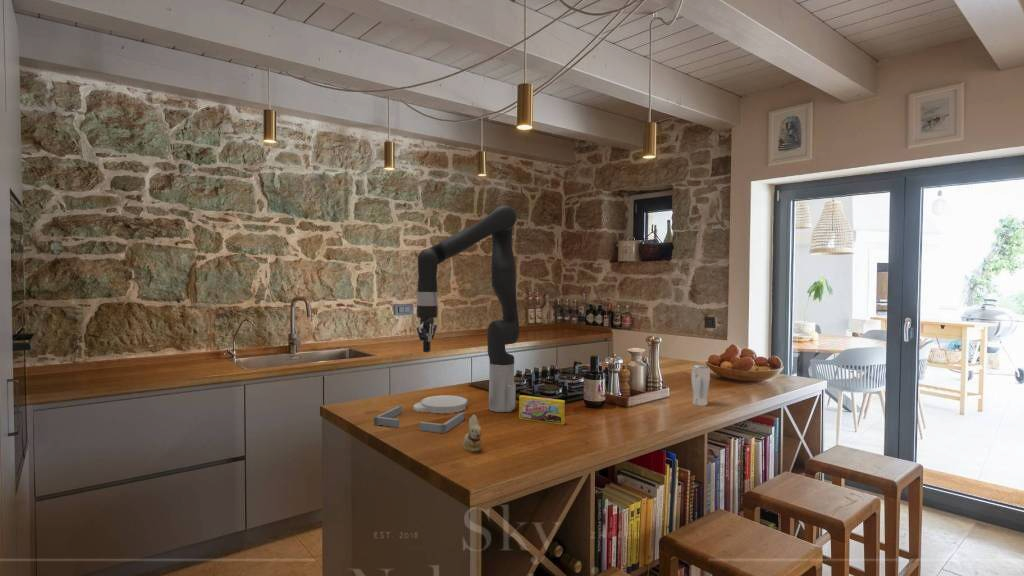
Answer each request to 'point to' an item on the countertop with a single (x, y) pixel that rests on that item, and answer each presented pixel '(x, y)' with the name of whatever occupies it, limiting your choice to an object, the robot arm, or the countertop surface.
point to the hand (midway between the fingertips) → (426, 351)
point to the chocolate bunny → (473, 436)
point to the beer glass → (700, 384)
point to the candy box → (542, 409)
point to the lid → (441, 404)
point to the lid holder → (388, 420)
